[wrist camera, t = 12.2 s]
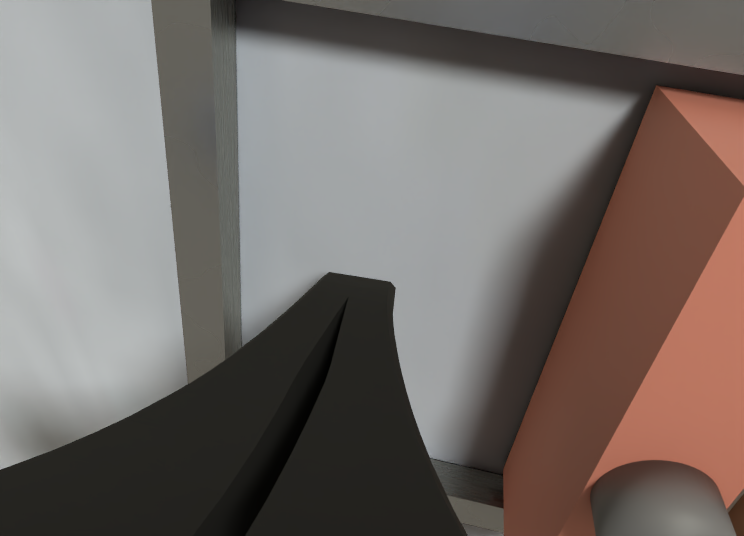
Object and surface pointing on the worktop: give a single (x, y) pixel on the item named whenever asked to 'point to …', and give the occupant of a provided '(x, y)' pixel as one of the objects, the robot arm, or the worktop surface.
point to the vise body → (412, 3)
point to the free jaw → (648, 347)
